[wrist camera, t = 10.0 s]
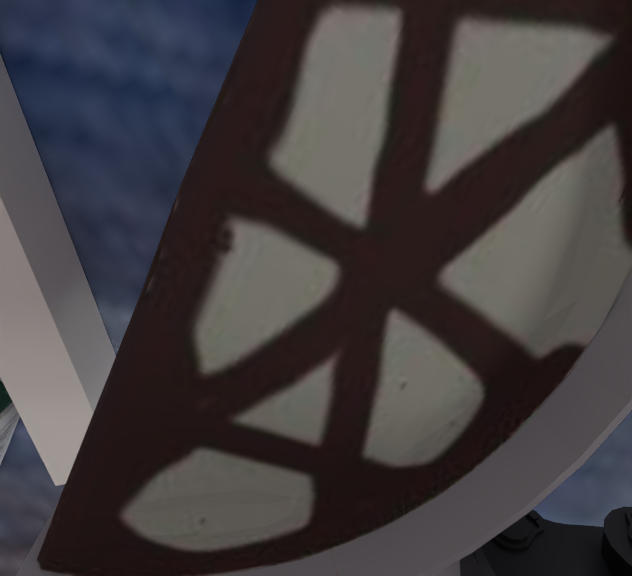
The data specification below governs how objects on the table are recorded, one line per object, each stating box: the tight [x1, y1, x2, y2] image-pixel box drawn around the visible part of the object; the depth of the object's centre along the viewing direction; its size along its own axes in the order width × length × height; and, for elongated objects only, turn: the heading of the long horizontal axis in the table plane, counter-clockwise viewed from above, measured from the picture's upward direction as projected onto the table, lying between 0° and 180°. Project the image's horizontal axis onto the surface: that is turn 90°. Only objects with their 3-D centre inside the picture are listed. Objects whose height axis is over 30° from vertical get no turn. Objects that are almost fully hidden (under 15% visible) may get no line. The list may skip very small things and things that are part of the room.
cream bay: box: [0, 54, 116, 486], centre depth 11 cm, size 20×19×2 cm
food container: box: [16, 0, 632, 576], centre depth 8 cm, size 12×6×10 cm, turn 153°
